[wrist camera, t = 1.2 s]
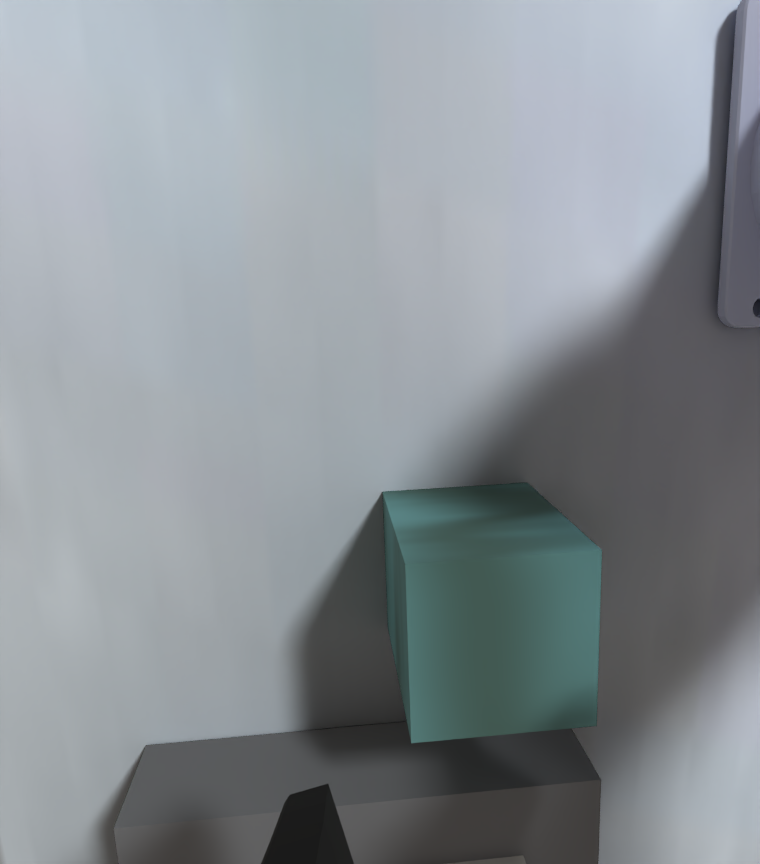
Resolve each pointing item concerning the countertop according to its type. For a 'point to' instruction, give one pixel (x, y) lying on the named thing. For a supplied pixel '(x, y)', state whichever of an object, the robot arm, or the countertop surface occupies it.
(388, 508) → the teal block
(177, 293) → the countertop surface
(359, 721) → the countertop surface
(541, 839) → the charcoal plinth
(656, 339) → the countertop surface
